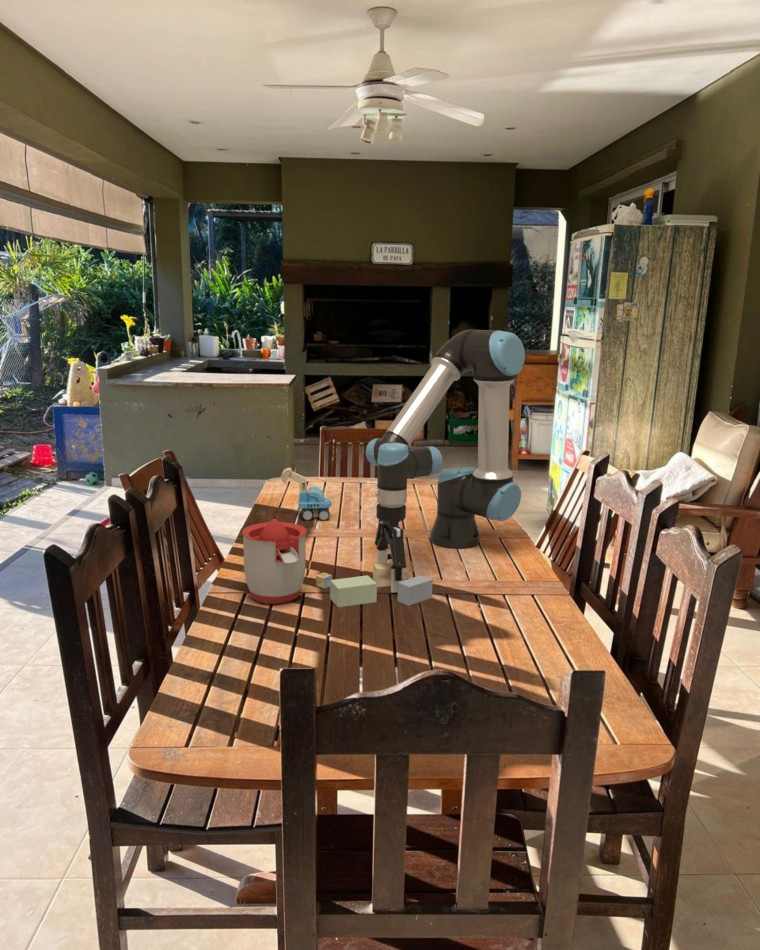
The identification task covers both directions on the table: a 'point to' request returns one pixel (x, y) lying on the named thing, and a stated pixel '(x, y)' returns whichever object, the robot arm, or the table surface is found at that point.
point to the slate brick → (414, 590)
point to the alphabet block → (323, 580)
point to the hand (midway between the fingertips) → (388, 582)
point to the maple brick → (385, 574)
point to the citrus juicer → (274, 560)
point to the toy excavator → (309, 498)
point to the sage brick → (353, 591)
